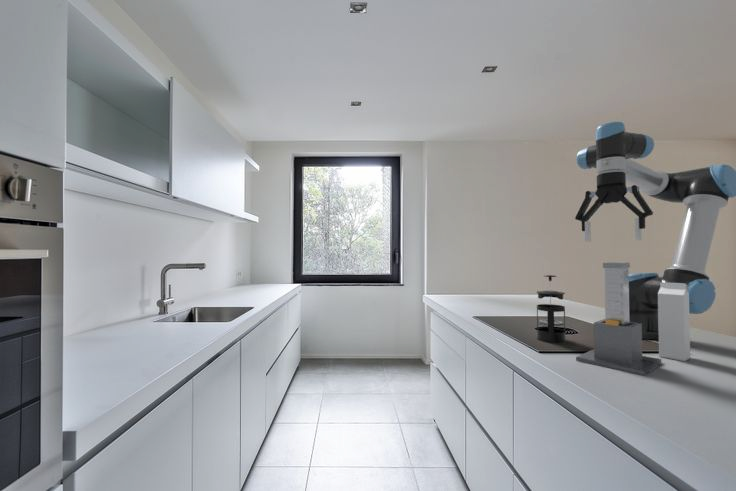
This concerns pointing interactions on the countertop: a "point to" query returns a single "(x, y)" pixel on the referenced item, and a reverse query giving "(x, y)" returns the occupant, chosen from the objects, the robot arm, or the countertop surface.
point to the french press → (550, 317)
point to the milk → (674, 321)
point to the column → (617, 292)
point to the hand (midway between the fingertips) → (612, 240)
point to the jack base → (619, 348)
